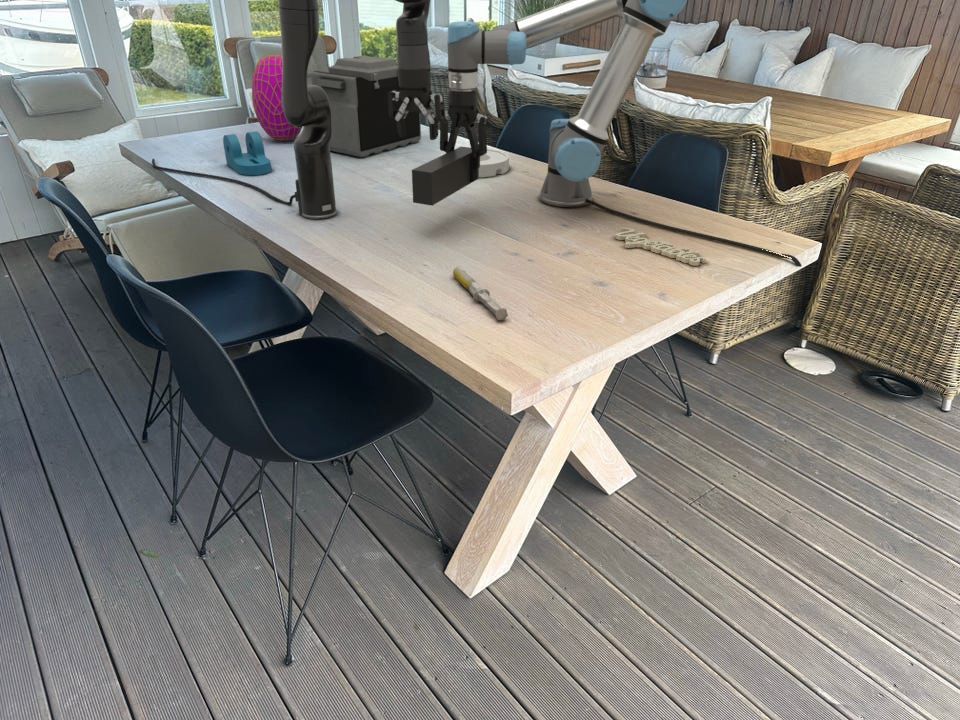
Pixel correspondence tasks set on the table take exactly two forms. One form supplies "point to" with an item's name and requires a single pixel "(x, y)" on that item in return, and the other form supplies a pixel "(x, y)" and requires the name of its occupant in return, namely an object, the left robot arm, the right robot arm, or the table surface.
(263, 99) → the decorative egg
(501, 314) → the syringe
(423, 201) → the bar
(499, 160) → the ashtray
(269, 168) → the camera mount
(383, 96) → the cooler box
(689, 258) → the decorative sign
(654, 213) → the table surface
